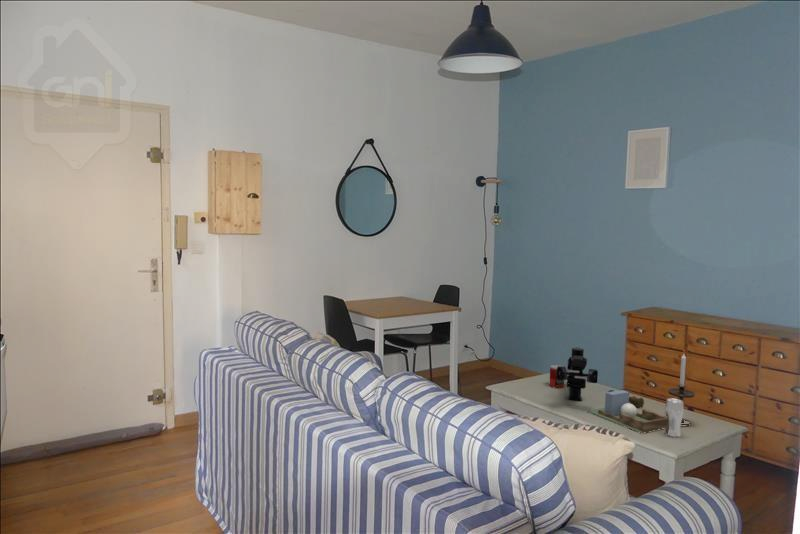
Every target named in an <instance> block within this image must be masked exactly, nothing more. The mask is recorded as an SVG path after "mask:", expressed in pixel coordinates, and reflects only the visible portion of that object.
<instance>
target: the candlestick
mask: <svg viewBox="0 0 800 534" xmlns="http://www.w3.org/2000/svg"><path fill="white" fill-rule="evenodd" d="M681 350H682V352H683V353H682V356H681V361H680V373H679V374H680V375H679V376H680V377H679V384H677V385H676V386H677V387H678V388H674V387H673V388H669V389H668V391H667V393H668V394H669V395H671V396H673V397H678V398H679V400H682V401H683V402H684V400H683V399H684V398H685V399H686V398H687V399H690V398H695V396H696V393H695V392H694V391H691V390H688V389H686V388H687V386H686V385H685V380H686V378H685V377H686V365H687V364H686V363H687V356H686V355H685V353H686V350H685V348H684V347H682V349H681ZM684 420H685V421H689V422H690V423H689V424H691V421H690V420H688V419H685V418H682V421H681V423H684ZM689 424H681V425H689Z"/></svg>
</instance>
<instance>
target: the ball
mask: <svg viewBox="0 0 800 534" xmlns="http://www.w3.org/2000/svg"><path fill="white" fill-rule="evenodd" d="M637 412H638V409H637V406H636V405H633V404H630V402H629V403H626V404H624V405H623V406H622V407H621V413H623V414H626V415H628V416H631V417H635V416H636V414H637Z"/></svg>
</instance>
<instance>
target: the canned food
mask: <svg viewBox="0 0 800 534" xmlns="http://www.w3.org/2000/svg"><path fill="white" fill-rule="evenodd" d="M558 366H561V365H559V364H553V365H552V364H551V365H550V367H549V368H550V370H549V386H552V387H551V388H553V387H555V388H554V389H564V387H565V380H558V379H557V367H558Z"/></svg>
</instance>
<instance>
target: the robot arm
mask: <svg viewBox="0 0 800 534" xmlns="http://www.w3.org/2000/svg"><path fill="white" fill-rule="evenodd" d="M584 351H585V349H584V348H580V347H578V346H577V347H572V348H571V356H570V357H569V358H568V359H567V368H566V366H563V365H560V366H558V367H557V379H558V380H564V381H566V387H567V388H569V389H568V390H569V393H568V394H569V395H568V396H567V397H568V398H567V400H570V401H578V402H582V397H583V396H582V389H586V384H587V383H588V384H597V383H598V377H599V375H598V373H599V372H598V371H599V370H598V369H597V368H595V369H593V368H589V369H588V373H585V372H584V370H585V369H586V367H587V363H588V358H587V357H585V356H584V354H585V353H584ZM586 382H587V383H586Z"/></svg>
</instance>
